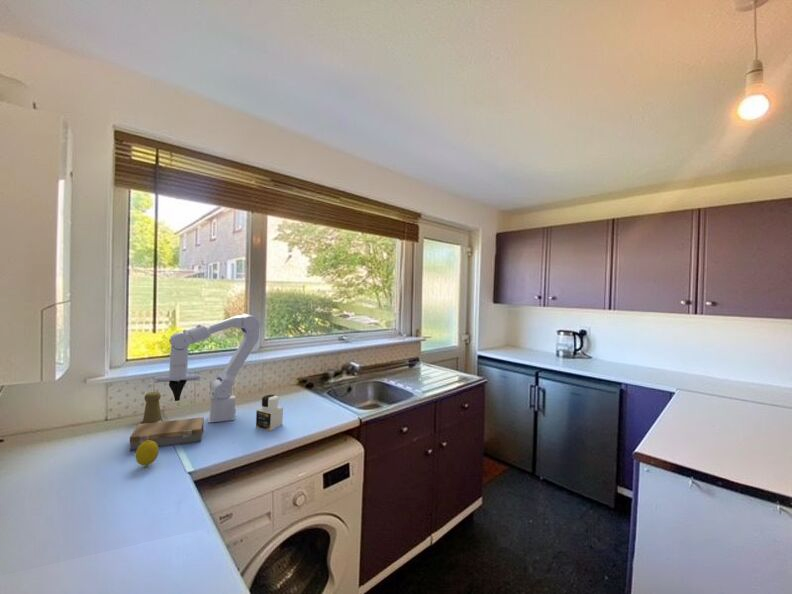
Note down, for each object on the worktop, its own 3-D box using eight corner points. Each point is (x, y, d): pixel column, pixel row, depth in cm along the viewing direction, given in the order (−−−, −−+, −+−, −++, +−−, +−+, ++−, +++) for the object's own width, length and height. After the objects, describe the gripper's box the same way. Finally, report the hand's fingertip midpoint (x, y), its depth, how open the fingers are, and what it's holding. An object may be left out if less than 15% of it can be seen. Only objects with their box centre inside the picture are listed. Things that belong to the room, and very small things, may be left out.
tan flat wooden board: (203, 422, 127) (203, 417, 127) (200, 435, 117) (200, 429, 117) (138, 429, 119) (138, 424, 119) (129, 444, 109) (129, 438, 109)
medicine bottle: (255, 427, 131) (256, 397, 131) (268, 421, 138) (269, 392, 137) (269, 431, 129) (270, 400, 128) (282, 424, 135) (283, 395, 135)
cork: (165, 417, 136) (165, 390, 136) (153, 423, 130) (153, 395, 130) (151, 416, 137) (151, 389, 137) (138, 422, 131) (139, 394, 131)
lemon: (133, 472, 98) (134, 445, 98) (137, 463, 103) (138, 437, 103) (156, 468, 101) (157, 442, 100) (159, 459, 106) (160, 434, 105)
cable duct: (203, 429, 127) (203, 422, 127) (200, 441, 118) (200, 433, 118) (138, 437, 119) (138, 429, 119) (129, 451, 110) (130, 442, 110)
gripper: (153, 367, 121) (151, 405, 121) (199, 366, 127) (198, 401, 128) (157, 363, 127) (156, 399, 128) (201, 361, 134) (200, 395, 134)
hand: (177, 400), depth 128 cm, fingers closed
